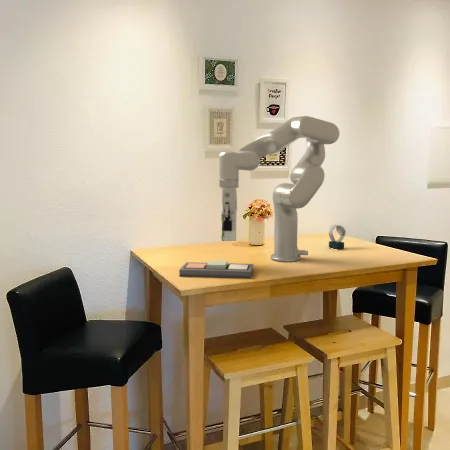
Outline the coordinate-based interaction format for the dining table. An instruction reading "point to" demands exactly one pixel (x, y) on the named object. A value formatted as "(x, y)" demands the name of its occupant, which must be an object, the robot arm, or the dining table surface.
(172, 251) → the dining table surface
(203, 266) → the terracotta key
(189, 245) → the dining table surface
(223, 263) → the sage key
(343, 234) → the watch
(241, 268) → the cream key
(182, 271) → the keypad board
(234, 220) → the syrup box
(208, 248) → the dining table surface
